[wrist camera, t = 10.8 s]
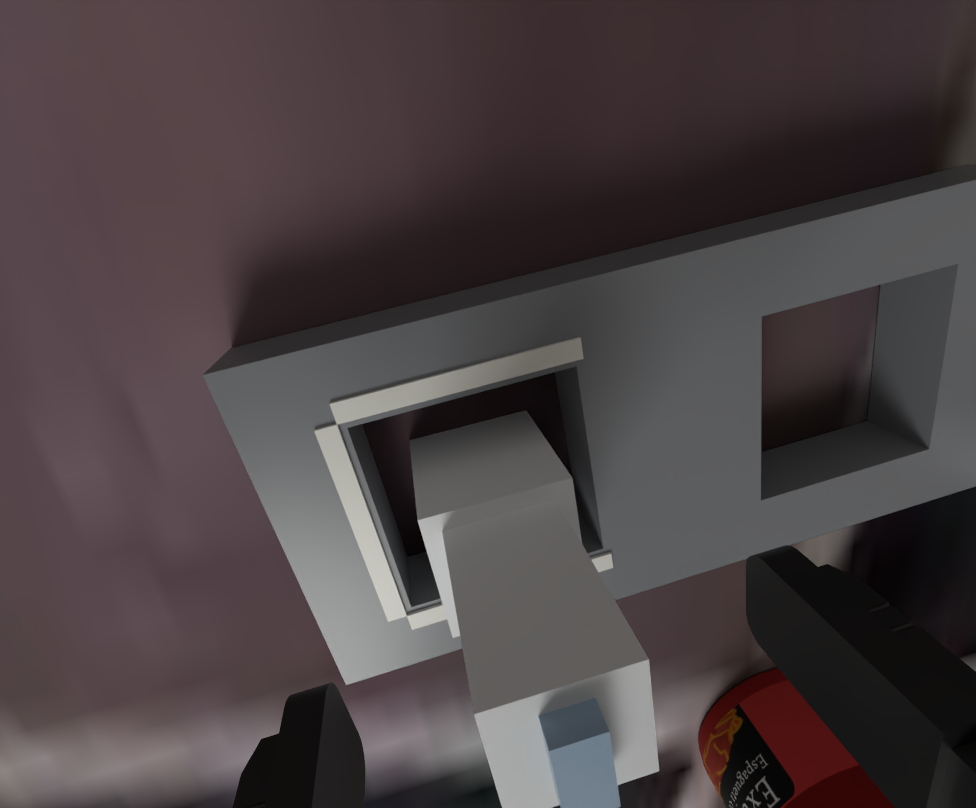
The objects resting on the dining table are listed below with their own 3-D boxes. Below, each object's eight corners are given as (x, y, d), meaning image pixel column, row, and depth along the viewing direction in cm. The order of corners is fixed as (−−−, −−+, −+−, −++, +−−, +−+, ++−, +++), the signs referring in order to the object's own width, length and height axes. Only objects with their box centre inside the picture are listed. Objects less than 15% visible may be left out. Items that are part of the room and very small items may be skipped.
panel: (966, 164, 17) (1061, 158, 14) (922, 452, 21) (990, 483, 19) (231, 348, 15) (201, 376, 12) (350, 627, 19) (345, 687, 17)
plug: (526, 410, 17) (695, 658, 8) (543, 508, 19) (702, 812, 9) (409, 440, 17) (440, 739, 7) (436, 538, 18) (491, 886, 9)
